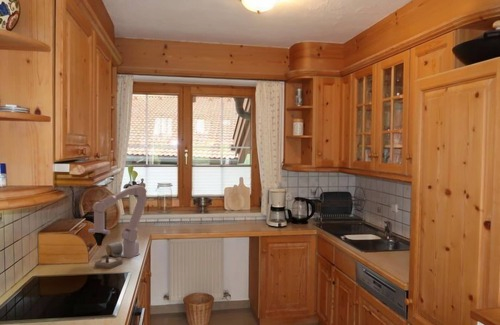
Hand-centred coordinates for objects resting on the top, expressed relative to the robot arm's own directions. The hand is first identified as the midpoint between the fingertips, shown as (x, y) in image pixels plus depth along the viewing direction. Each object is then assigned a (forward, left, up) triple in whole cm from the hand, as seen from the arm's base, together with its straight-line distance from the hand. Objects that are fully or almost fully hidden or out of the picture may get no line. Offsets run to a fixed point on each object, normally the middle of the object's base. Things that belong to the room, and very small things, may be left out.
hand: (99, 245), depth 222 cm
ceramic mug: (-14, 0, -10) cm, 17 cm away
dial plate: (+4, +10, -9) cm, 14 cm away
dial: (+4, +10, -8) cm, 13 cm away
